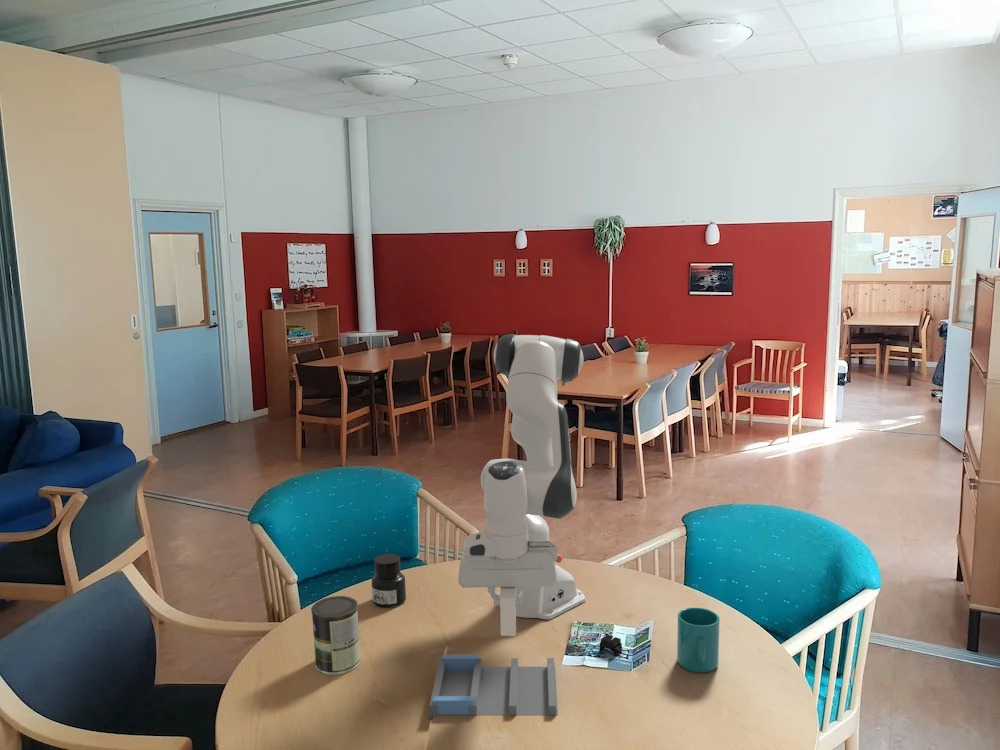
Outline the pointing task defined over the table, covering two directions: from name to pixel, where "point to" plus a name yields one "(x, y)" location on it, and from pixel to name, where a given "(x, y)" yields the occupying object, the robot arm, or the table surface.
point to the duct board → (492, 688)
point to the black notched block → (611, 644)
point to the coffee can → (336, 635)
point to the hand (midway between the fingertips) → (508, 605)
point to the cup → (698, 639)
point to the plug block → (508, 611)
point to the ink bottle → (388, 582)
